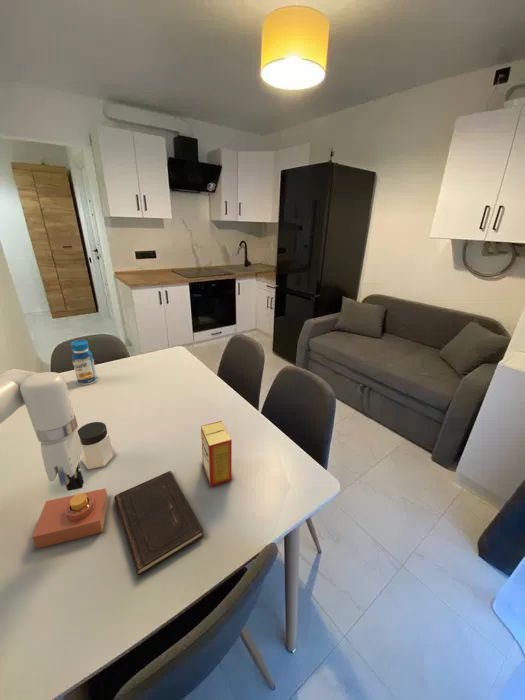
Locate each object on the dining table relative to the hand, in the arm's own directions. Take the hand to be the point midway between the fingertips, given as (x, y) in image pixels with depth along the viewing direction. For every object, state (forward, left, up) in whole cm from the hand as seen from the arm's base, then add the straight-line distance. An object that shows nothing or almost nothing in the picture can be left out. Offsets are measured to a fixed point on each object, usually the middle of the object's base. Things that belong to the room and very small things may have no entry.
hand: (76, 486), depth 71 cm
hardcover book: (+18, -5, -12) cm, 22 cm away
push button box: (-2, 0, -12) cm, 12 cm away
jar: (0, +22, -12) cm, 25 cm away
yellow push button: (0, 0, -6) cm, 6 cm away
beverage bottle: (-13, +78, -12) cm, 80 cm away
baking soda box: (+36, +6, -12) cm, 38 cm away
